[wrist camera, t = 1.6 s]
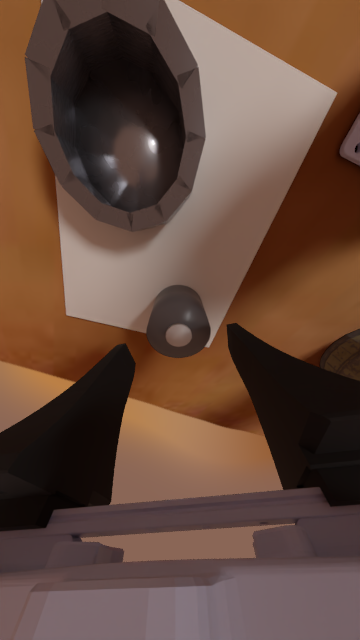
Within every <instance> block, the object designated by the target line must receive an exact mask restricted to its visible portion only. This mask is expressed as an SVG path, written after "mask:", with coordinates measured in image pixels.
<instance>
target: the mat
mask: <svg viewBox="0 0 360 640" xmlns="http://www.w3.org/2000/svg"><path fill="white" fill-rule="evenodd" d="M42 1H43V0H41V4H42ZM165 2H166V4H167V6H168V8H169V10H170V12H171V14H172V16H173V18H174V20H175V22H176V24H177V25H178V27H179V29H180V31H181V33H182V35H183V37H184V39H185V41H186V43H187V45H188V47H189V49H190V50H191V52H192V54H193V56H194V58H195V60H196V62H197V64H198V67H199V76H200V85H201V95H202V104H203V114H204V123H205V133H206V138H205V143H204V147H203V151H202V155H201V158H200V162H199V166H198V170H197V174H196V178H195V181H194V185H193V189H192V192H191V195H190V197H189V198H188V200H187V201H186V202H185V203H184V204H183V205H182V207H181V208H180V209H179V211H178V212H177V213H176V214H175V215H174V216H173V217H172V218H171V219H170V220H169V222H168V223H167V222H166V224H163V225H159V226H156V227H153V228H149V229H145V230H142V231H135V232H131V231H128V230H125V229H122V228H119V227H116V226H113V225H110V224H106V223H103V222H100V221H97V220H95V219H94V218H93V217H92V216H91V215H90V214H89V213H88V212H87V211H86V210H85V209H84V208H83V207H82V206H81V205H80V204H79V203H78V202H77V201H76V200H75V199H74V198H73V197H72V196H71V195H69V194H68V193H67V192H66V191H65V190H64V189H63V188H62V186H61V185H60V183H59V181H58V179H57V177H56V175H55V180H56V192H57V205H58V217H59V230H60V242H61V255H62V267H63V280H64V293H65V305H66V315H68V316H72V317H77V318H81V319H86V320H90V321H94V322H99V323H103V324H108V325H112V326H116V327H121V328H125V329H129V330H134V331H138V332H143V333H146V330H147V325H148V322H149V318H150V315H151V312H152V308H153V305H154V302H155V299H156V297H157V295H158V294H159V293H160V292H161V291H162V290H163V289H165V288H167V287H169V286H172V285H184V286H188V287H190V288H192V289H193V290H195V291H196V292H197V293H198V295H199V296H200V298H201V300H202V303H203V306H204V309H205V312H206V315H207V318H208V321H209V324H210V328H211V335H210V339H209V341H208V343H207V344H206V346H205V347H208V348H209V346H210V344H211V342H212V340H213V338H214V336H215V334H216V332H217V330H218V328H219V326H220V324H221V323H222V321H223V319H224V317H225V315H226V313H227V311H228V309H229V307H230V305H231V303H232V301H233V299H234V297H235V295H236V293H237V291H238V289H239V287H240V285H241V283H242V281H243V279H244V277H245V275H246V273H247V271H248V269H249V267H250V265H251V263H252V261H253V259H254V257H255V255H256V253H257V251H258V249H259V247H260V245H261V243H262V241H263V239H264V237H265V235H266V233H267V231H268V229H269V227H270V225H271V223H272V221H273V219H274V217H275V215H276V213H277V211H278V209H279V208H280V206H281V204H282V202H283V200H284V198H285V196H286V194H287V192H288V190H289V188H290V186H291V184H292V182H293V180H294V178H295V176H296V174H297V172H298V170H299V168H300V166H301V164H302V162H303V160H304V158H305V156H306V154H307V152H308V150H309V148H310V146H311V144H312V142H313V140H314V138H315V136H316V134H317V132H318V130H319V128H320V126H321V124H322V122H323V120H324V118H325V116H326V114H327V112H328V110H329V108H330V106H331V104H332V102H333V100H334V98H335V96H336V94H337V92H335V91H333V90H332V89H330V88H328V87H327V86H325V85H323V84H321V83H320V82H318V81H316V80H315V79H313V78H311V77H309V76H308V75H306V74H304V73H303V72H301V71H299V70H297V69H296V68H294V67H292V66H291V65H289V64H287V63H285V62H284V61H282V60H280V59H279V58H277V57H275V56H273V55H272V54H270V53H268V52H266V51H265V50H263V49H261V48H260V47H258V46H256V45H254V44H253V43H251V42H249V41H248V40H246V39H244V38H242V37H241V36H239V35H237V34H236V33H234V32H232V31H230V30H229V29H227V28H225V27H224V26H222V25H220V24H218V23H217V22H215V21H213V20H212V19H210V18H208V17H206V16H205V15H203V14H201V13H200V12H198V11H196V10H194V9H193V8H191V7H189V6H188V5H186V4H184V3H182V2H181V1H179V0H165Z"/></svg>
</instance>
